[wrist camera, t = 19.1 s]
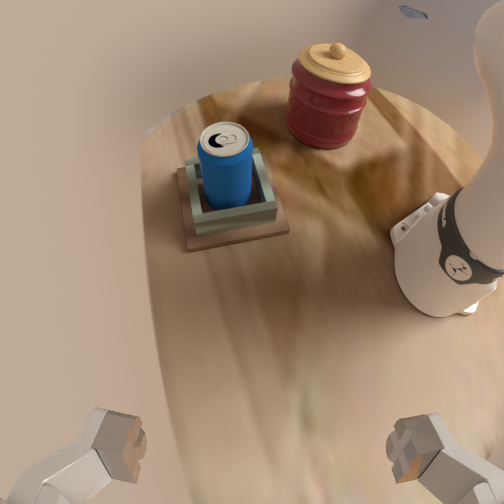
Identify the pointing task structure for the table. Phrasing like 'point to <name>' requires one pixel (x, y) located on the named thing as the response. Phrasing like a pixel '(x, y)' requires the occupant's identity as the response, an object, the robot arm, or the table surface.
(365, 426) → the table surface
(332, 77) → the canister
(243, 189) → the beverage can
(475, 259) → the robot arm
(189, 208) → the cradle
